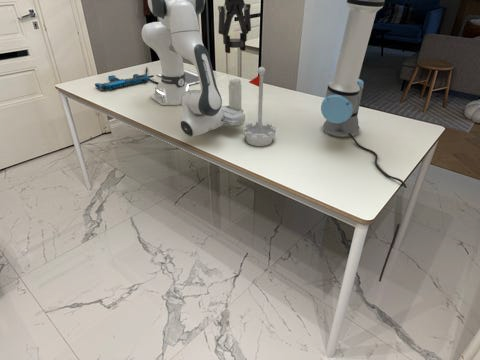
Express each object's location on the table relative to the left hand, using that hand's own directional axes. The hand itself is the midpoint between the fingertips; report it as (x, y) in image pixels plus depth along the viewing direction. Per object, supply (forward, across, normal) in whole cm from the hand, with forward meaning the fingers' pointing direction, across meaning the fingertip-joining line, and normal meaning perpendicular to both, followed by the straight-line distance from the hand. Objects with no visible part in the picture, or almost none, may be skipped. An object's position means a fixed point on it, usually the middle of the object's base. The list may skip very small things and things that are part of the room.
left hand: (236, 108), depth 154 cm
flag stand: (-7, -20, +7) cm, 22 cm away
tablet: (+28, +74, +7) cm, 79 cm away
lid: (-1, 0, -29) cm, 29 cm away
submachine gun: (-3, +93, +7) cm, 93 cm away
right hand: (-1, 0, -25) cm, 25 cm away
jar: (-1, 0, +7) cm, 7 cm away
